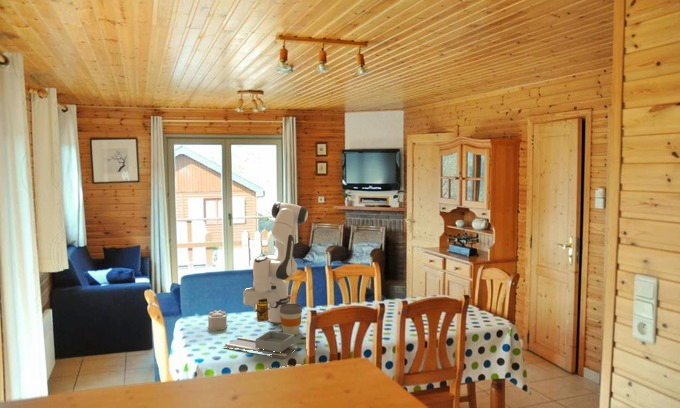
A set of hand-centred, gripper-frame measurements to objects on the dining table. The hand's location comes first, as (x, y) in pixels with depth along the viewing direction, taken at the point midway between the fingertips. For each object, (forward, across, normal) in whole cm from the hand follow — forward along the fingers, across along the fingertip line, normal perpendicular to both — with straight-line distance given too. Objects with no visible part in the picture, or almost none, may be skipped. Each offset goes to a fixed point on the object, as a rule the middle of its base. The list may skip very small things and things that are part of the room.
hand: (262, 310), depth 310 cm
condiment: (+5, 0, 0) cm, 5 cm away
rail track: (+15, -6, -16) cm, 22 cm away
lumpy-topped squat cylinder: (+15, -19, +29) cm, 38 cm away
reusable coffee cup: (+16, +17, +2) cm, 23 cm away
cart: (+13, 0, -22) cm, 26 cm away
